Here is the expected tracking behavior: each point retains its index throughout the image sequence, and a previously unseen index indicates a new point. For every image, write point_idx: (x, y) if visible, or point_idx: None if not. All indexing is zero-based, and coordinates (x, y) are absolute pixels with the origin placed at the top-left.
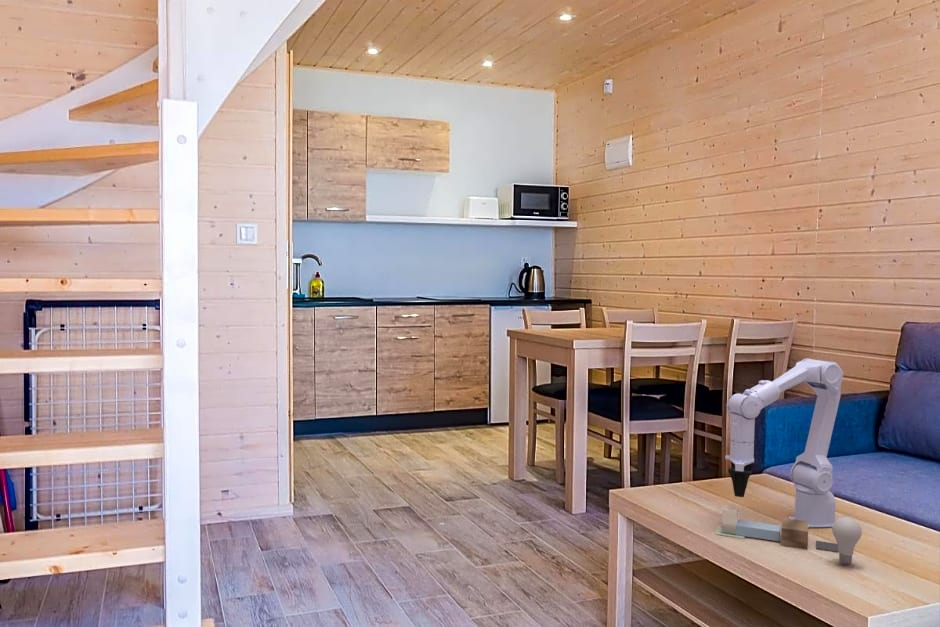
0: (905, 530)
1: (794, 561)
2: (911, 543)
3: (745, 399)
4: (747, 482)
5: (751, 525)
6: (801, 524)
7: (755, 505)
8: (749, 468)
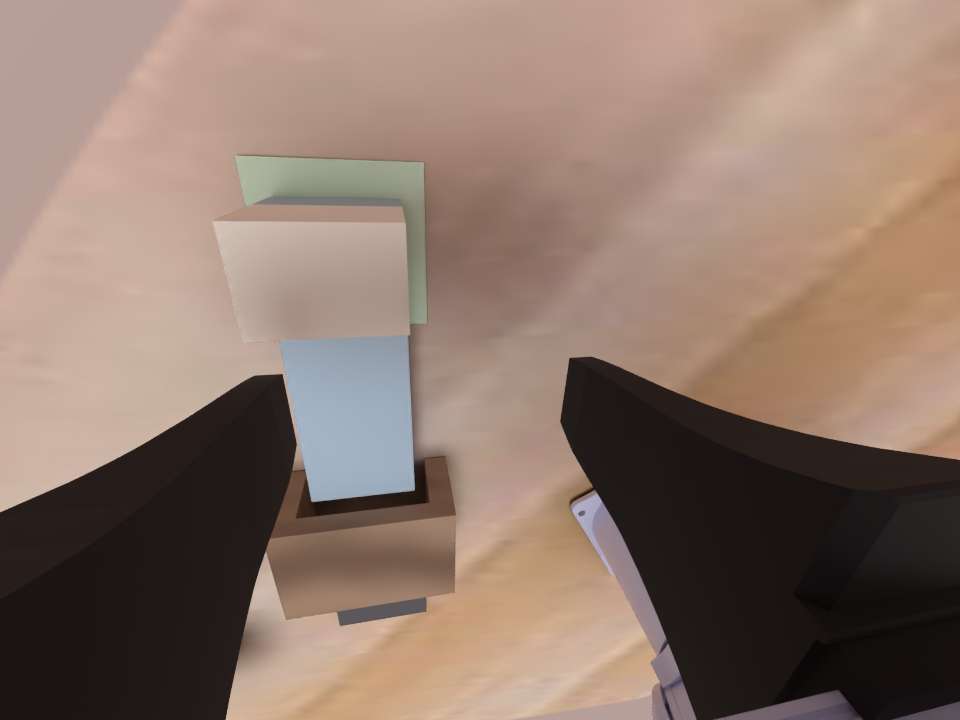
0: (639, 669)
1: None
2: (535, 692)
3: None
4: (590, 480)
5: (333, 380)
6: (388, 584)
7: (839, 318)
8: (682, 650)
